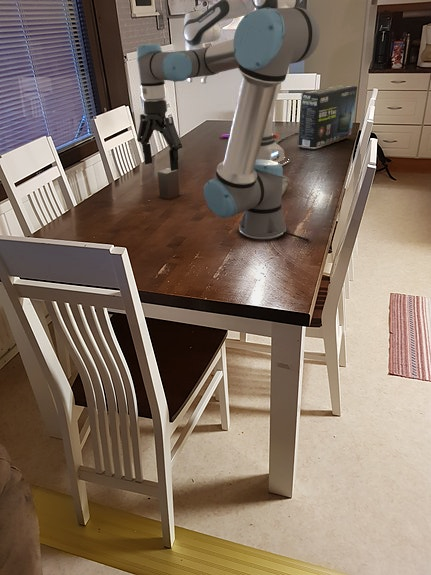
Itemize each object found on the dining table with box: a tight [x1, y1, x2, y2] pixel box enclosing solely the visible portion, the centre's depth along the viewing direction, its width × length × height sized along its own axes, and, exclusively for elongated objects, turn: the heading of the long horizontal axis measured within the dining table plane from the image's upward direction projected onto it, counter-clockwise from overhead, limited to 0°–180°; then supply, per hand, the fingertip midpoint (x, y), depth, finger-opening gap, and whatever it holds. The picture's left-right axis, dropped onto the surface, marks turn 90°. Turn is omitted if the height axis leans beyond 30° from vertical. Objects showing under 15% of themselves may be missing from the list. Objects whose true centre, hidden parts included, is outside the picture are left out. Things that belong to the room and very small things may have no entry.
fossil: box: [282, 175, 291, 195], centre depth 182 cm, size 18×11×15 cm
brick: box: [157, 167, 180, 201], centre depth 180 cm, size 5×6×10 cm
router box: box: [297, 84, 358, 151], centre depth 238 cm, size 36×11×27 cm, turn 134°
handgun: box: [220, 133, 230, 139], centre depth 256 cm, size 21×8×2 cm, turn 11°
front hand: (161, 166), depth 155 cm, fingers open, 13 cm apart
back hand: (196, 82), depth 223 cm, fingers open, 8 cm apart
